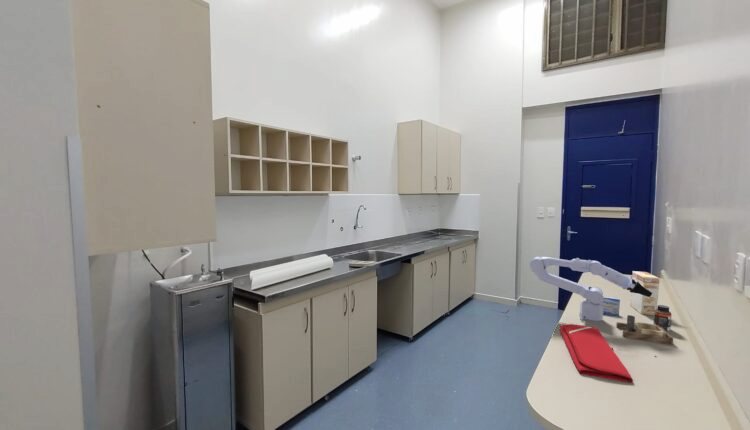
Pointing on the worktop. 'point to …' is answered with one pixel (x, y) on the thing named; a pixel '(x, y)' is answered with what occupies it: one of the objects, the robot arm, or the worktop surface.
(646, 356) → the worktop surface
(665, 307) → the supplement bottle
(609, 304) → the medicine box
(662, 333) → the drawer
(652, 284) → the coffeecake box
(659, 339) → the bay
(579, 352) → the dish drying mat
